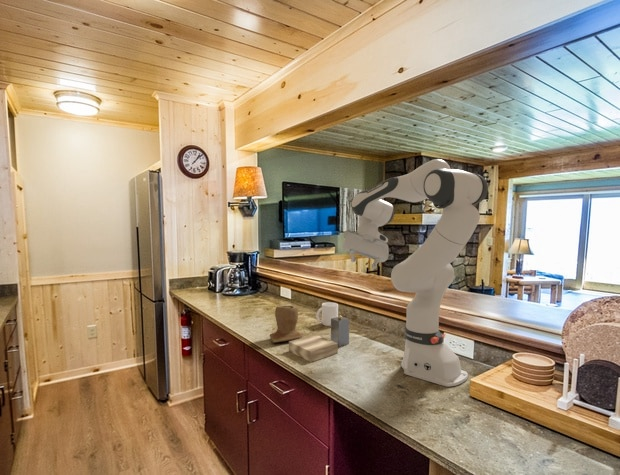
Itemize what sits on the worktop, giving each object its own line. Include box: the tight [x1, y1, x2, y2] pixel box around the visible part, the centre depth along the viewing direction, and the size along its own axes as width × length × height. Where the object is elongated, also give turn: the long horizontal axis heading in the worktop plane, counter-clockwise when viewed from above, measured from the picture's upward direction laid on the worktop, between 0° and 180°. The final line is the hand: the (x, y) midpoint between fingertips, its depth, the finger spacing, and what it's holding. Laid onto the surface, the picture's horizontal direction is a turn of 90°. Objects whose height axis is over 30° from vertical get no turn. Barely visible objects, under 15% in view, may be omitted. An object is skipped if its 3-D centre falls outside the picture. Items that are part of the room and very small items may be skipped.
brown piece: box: [269, 305, 303, 344], centre depth 156 cm, size 15×12×15 cm
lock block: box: [330, 314, 350, 348], centre depth 150 cm, size 5×6×12 cm
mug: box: [315, 301, 339, 327], centre depth 177 cm, size 12×8×10 cm
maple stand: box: [288, 334, 339, 363], centre depth 141 cm, size 14×14×4 cm
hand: (363, 264), depth 144 cm, fingers open, 8 cm apart
